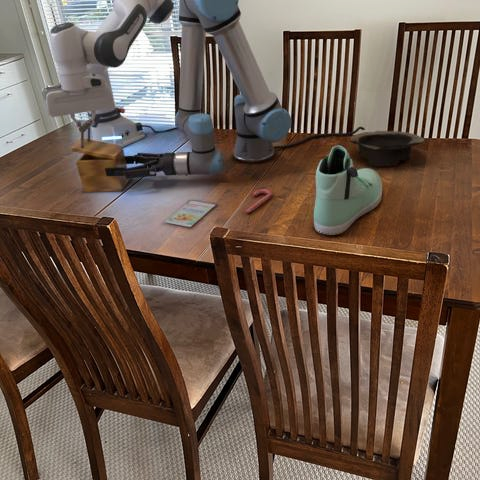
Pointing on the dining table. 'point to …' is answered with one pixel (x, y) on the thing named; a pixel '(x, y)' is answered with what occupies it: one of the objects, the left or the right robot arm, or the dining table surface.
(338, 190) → the sneaker
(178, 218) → the baking ingredient package
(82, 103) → the left robot arm
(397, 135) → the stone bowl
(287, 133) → the right robot arm
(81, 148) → the lid
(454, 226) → the dining table surface
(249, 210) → the candy cane
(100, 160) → the chest
